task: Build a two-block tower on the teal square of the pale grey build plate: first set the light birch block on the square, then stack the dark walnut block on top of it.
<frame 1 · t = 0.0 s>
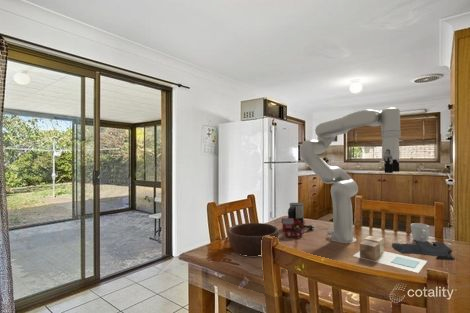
hand: (392, 172, 118), 37 cm above the table, tool pointing down, fingers open, 9 cm apart
build plate: (388, 260, 108), on the table
dark slate chunk: (421, 253, 116), on the table
cup: (421, 241, 131), on the table
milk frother: (301, 228, 162), on the table
wooden bowl: (253, 250, 126), on the table
toy fire truck: (293, 236, 145), on the table
walnut block: (370, 257, 110), point 1 cm above the table, touching build plate
birch block: (374, 251, 116), point 1 cm above the table, touching build plate
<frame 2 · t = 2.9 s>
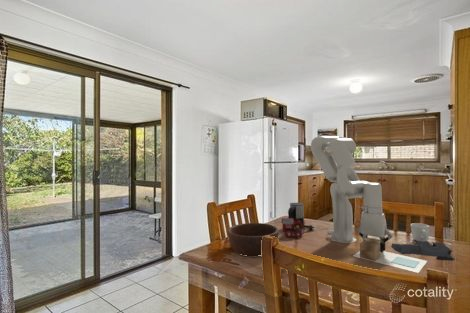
hand: (374, 249, 116), 2 cm above the table, tool pointing down, fingers closed on birch block, 6 cm apart
birch block: (374, 251, 116), point 1 cm above the table, touching build plate, gripper
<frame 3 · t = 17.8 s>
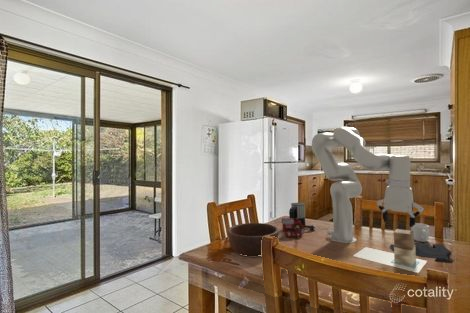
hand: (398, 223, 109), 15 cm above the table, tool pointing down, fingers open, 9 cm apart
dark slate chunk: (419, 255, 114), on the table, touching build plate
walnut block: (404, 246, 104), point 7 cm above the table, touching birch block
birch block: (405, 261, 104), point 1 cm above the table, touching build plate, walnut block
everything else where it was.
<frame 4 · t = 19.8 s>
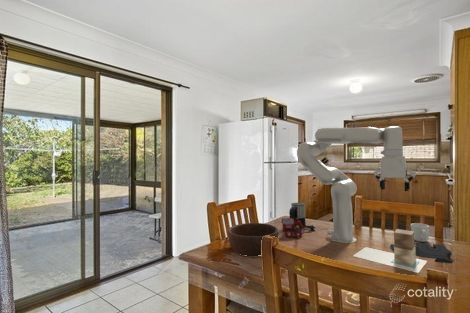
hand: (394, 190, 119), 28 cm above the table, tool pointing down, fingers open, 9 cm apart
dark slate chunk: (419, 255, 114), on the table
at the end: birch block 0.0 cm from the target spot, point 1.2 cm above the table; walnut block 0.5 cm off-centre on the birch block, point 6.0 cm above the birch block's base; walnut block tilted 0° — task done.
